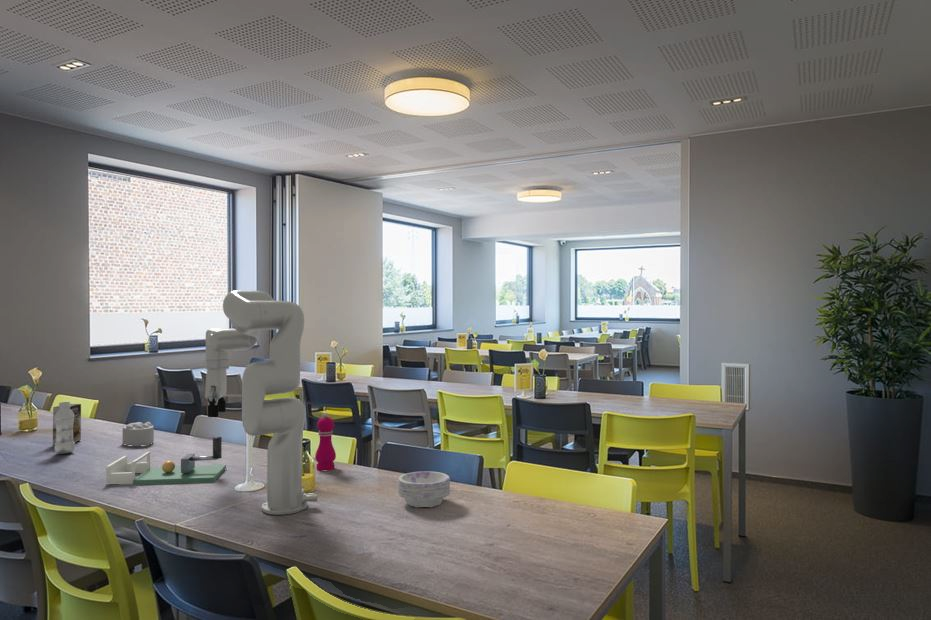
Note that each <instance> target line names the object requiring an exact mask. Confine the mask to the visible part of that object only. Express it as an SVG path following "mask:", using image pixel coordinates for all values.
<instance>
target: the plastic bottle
mask: <svg viewBox="0 0 931 620" xmlns="http://www.w3.org/2000/svg"><path fill="white" fill-rule="evenodd" d="M70 404H71V402H70V401H62V402H58V406H59V408H60V409H59V410H58V412H57V413H56V414H55V417H54V418H55V424H56V443H55V446H54V452H55V454H57V455H67V454H71V453H73V452H74V451H75V447H76V443H74V439H73V423H74V413H73V412H72V410H71V409H70V407H71V406H70Z"/></svg>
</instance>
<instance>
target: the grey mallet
mask: <svg viewBox="0 0 931 620" xmlns="http://www.w3.org/2000/svg"><path fill="white" fill-rule="evenodd" d="M222 442H223V441H222V436H214V437H212V455H204V456H202V455H200V456H198V455H197V456H196V454H195V453H187V454H185V455H184V456H183V457H181V458H180V466H181V473H189V472H190V471H192V470H193V469H194V468H195V466H196V465H195V463H196V461H197V462H198V461H218V460H220V459H222V454H223V451H222V450H223V449H222V444H223V443H222Z"/></svg>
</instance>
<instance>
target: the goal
mask: <svg viewBox="0 0 931 620" xmlns="http://www.w3.org/2000/svg"><path fill="white" fill-rule="evenodd" d="M145 458H146V461H143V462H140V461H142V460H143V459H145ZM150 468H151V451H147V452H144V453H143V454H142V455H141V456H139V457H138V458H136V459H133V460H132V461H131V462H128V455H123V456H122V457H120V458H118V459H116V460H115V461H113V462H112V463H110V464H108V465H106V467H105V485H107V486H110V485H109V484H119V485H133V480H134V479H135V478H136V474H135V473H140V474H143V473H144V472H145V471H147V470H148V469H150Z"/></svg>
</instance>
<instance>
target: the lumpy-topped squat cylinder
mask: <svg viewBox="0 0 931 620" xmlns="http://www.w3.org/2000/svg"><path fill="white" fill-rule="evenodd" d="M154 429H155V427H154V425H153V424H152V422H151V421H146V422H145V423H143V422H141V421H137V422H131V423H128V424H127V425H125V426H123V427H122V445H123V444H126V445H132V446H141V445H148V444H151V443H153V442H154V441H155V440H154V439H155V438H154V437H155V436H154V433H155V432H154V431H155V430H154ZM154 443H155V442H154ZM154 443H153V444H154ZM141 447H142V446H141Z"/></svg>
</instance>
